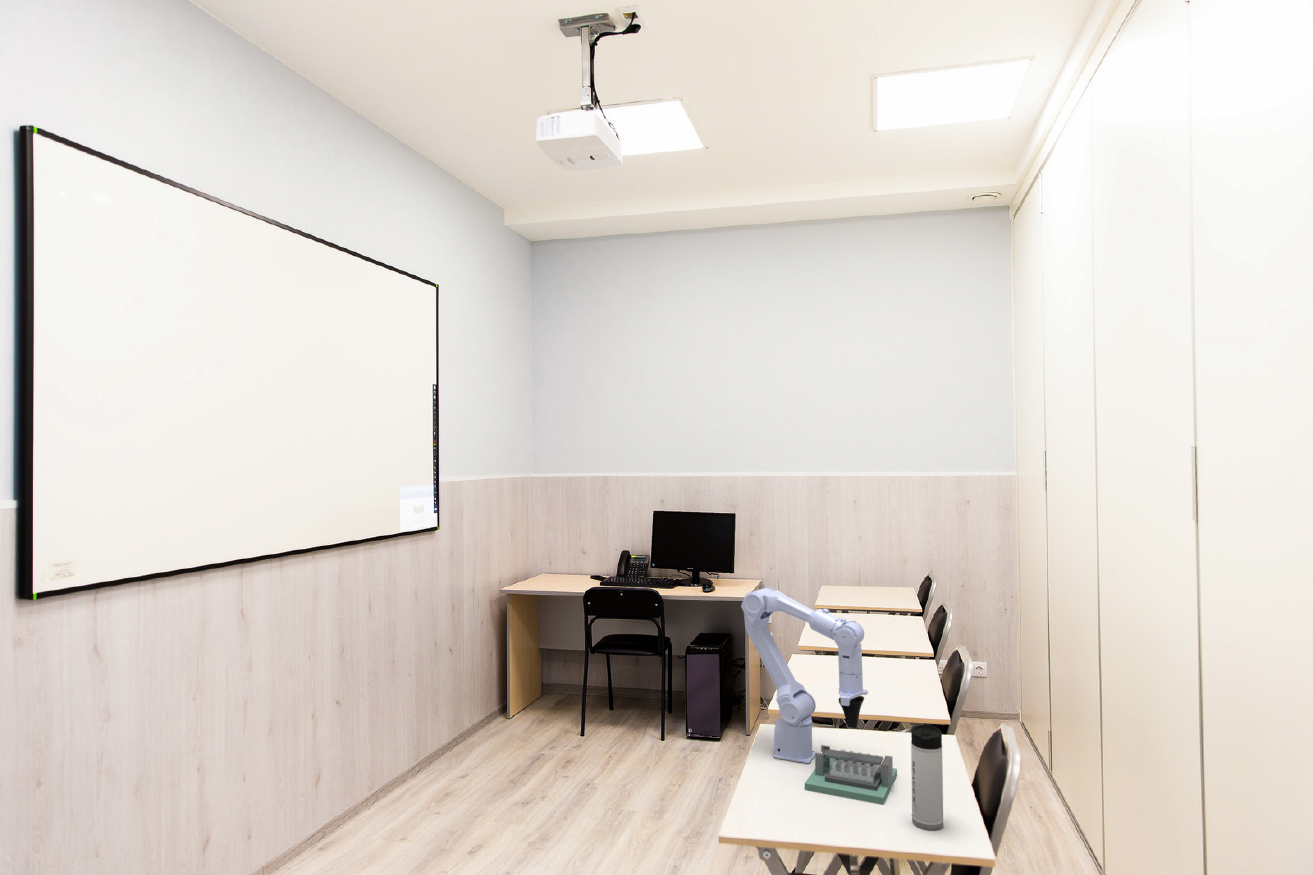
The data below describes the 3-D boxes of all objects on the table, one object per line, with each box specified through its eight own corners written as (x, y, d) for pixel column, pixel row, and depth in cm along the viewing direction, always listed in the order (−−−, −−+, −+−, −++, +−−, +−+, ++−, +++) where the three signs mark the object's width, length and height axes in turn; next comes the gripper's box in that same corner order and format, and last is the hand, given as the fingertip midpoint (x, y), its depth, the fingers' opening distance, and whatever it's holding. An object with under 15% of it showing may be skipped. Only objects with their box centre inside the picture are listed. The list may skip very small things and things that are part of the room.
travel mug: (944, 819, 167) (943, 725, 167) (941, 833, 161) (940, 735, 161) (914, 814, 170) (913, 721, 170) (910, 827, 164) (909, 731, 164)
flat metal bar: (818, 757, 188) (818, 753, 188) (822, 751, 191) (822, 747, 191) (880, 766, 181) (879, 761, 181) (883, 760, 185) (883, 755, 185)
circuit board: (804, 789, 182) (804, 778, 182) (823, 762, 198) (823, 752, 198) (883, 804, 174) (883, 793, 174) (896, 774, 190) (896, 764, 190)
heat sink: (813, 777, 185) (813, 756, 185) (823, 762, 194) (823, 742, 194) (886, 790, 178) (886, 768, 178) (894, 774, 187) (893, 753, 187)
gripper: (860, 680, 186) (862, 738, 186) (872, 666, 199) (874, 720, 199) (831, 678, 190) (833, 734, 189) (844, 663, 203) (846, 716, 202)
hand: (852, 726), depth 194 cm, fingers closed
